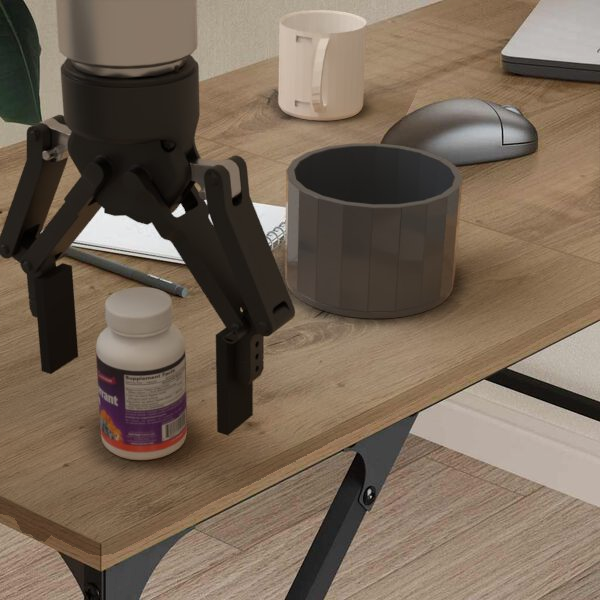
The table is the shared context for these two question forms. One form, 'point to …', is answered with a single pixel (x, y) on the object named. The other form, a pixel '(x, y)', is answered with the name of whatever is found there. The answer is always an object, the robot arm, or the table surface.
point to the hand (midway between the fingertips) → (144, 393)
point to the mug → (321, 64)
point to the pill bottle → (141, 376)
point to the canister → (371, 229)
